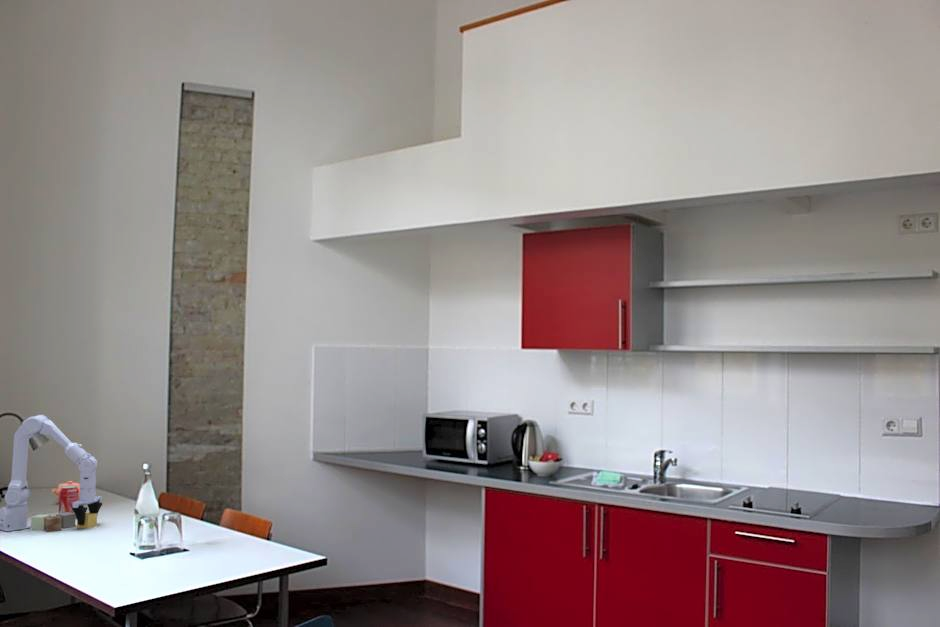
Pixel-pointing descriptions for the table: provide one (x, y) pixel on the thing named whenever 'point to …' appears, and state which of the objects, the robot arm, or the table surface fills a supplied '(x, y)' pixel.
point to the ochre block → (89, 521)
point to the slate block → (67, 519)
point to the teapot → (66, 485)
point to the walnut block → (53, 523)
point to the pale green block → (38, 522)
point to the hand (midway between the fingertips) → (87, 523)
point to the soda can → (67, 498)
